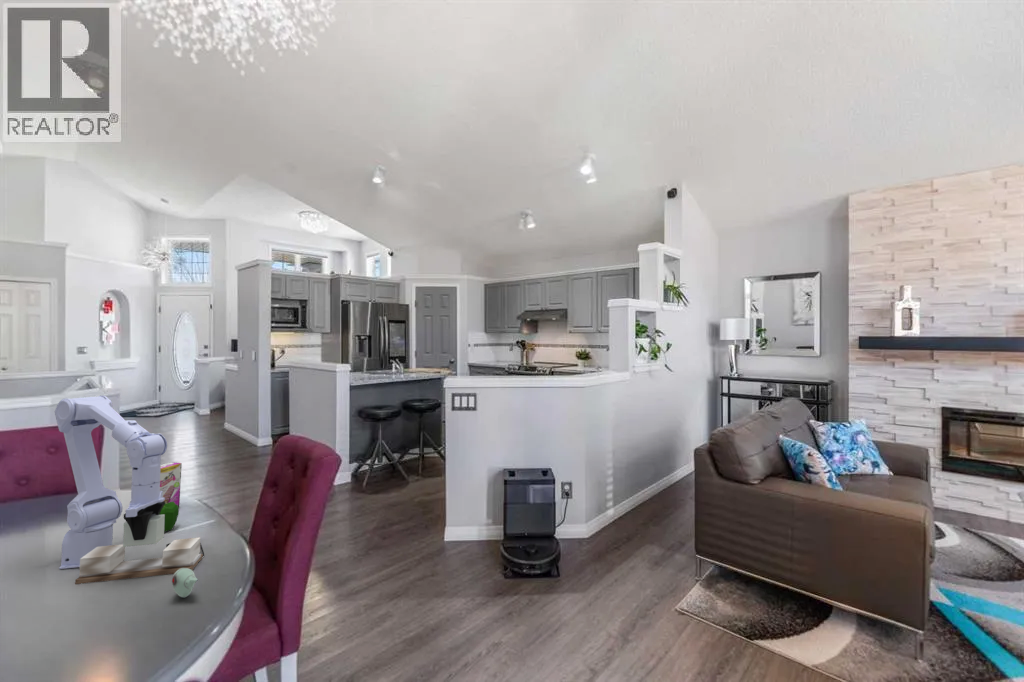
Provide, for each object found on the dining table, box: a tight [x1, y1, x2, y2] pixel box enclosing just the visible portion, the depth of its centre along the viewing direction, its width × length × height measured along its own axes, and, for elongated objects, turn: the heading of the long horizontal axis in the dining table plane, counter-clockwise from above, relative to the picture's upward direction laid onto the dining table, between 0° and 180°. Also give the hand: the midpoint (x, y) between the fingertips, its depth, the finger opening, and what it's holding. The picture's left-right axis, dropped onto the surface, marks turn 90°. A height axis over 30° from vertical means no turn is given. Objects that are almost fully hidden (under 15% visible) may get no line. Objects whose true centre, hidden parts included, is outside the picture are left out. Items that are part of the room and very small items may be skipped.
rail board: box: [74, 537, 204, 585], centre depth 116 cm, size 24×8×6 cm, turn 107°
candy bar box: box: [160, 462, 183, 508], centre depth 155 cm, size 11×5×16 cm, turn 172°
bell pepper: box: [159, 502, 180, 533], centre depth 141 cm, size 8×8×10 cm
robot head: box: [171, 568, 199, 598], centre depth 103 cm, size 8×4×7 cm, turn 57°
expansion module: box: [122, 514, 165, 548], centre depth 116 cm, size 4×7×6 cm, turn 107°
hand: (144, 535), depth 116 cm, fingers closed on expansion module, 4 cm apart
